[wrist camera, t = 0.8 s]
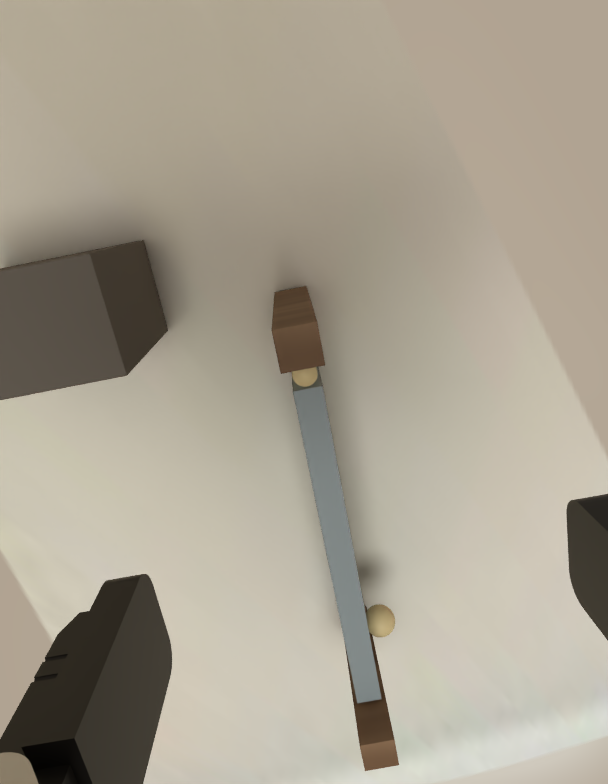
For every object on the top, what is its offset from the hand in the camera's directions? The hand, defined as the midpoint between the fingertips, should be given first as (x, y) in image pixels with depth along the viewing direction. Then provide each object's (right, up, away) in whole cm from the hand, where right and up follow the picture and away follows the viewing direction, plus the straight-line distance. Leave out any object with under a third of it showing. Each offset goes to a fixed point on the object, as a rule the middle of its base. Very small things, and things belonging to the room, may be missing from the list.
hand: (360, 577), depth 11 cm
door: (+1, -1, +20) cm, 20 cm away
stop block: (-12, +8, +17) cm, 22 cm away
